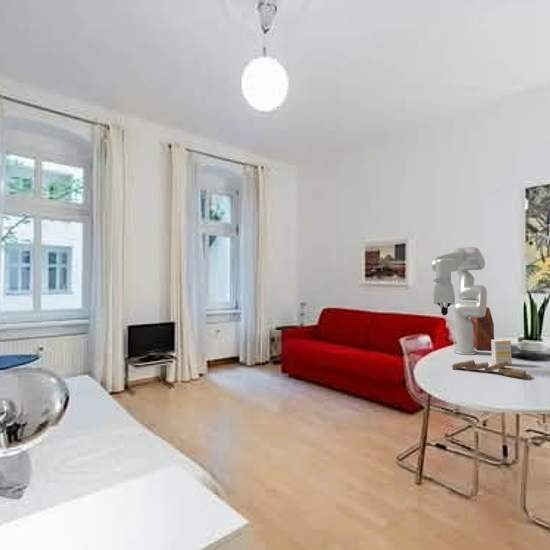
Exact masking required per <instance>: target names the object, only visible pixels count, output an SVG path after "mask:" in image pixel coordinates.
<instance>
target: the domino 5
mask: <svg viewBox="0 0 550 550" xmlns="http://www.w3.org/2000/svg"><path fill="white" fill-rule="evenodd" d="M503 375H504V377H508V376H509V378H515V379H516V378H517V379H521V378H522V380H528V379H529V380H530V379H531V378H532V374H530V373H526V375H524V376H522V377H519V376H514V375H508V374H503Z"/></svg>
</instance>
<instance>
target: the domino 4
mask: <svg viewBox="0 0 550 550" xmlns="http://www.w3.org/2000/svg"><path fill="white" fill-rule="evenodd" d="M497 370H498V373H499V374H503V375H504V374H508V375H514V376H519V377H522V376H524V375H526V374H527V371H526V370H525V369H523V370H522V369H517V368H513V367H507V366H505V367H502V368H499V369H497Z"/></svg>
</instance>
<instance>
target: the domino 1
mask: <svg viewBox="0 0 550 550" xmlns="http://www.w3.org/2000/svg"><path fill="white" fill-rule="evenodd" d="M474 364H476V362H475V360H474V359H471V360H465V361H461V362H455V363H453V364H452V365H451V367H452V369H453V370H457V369H464V368H465V367H468V366H473V365H474Z"/></svg>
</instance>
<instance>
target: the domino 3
mask: <svg viewBox="0 0 550 550" xmlns="http://www.w3.org/2000/svg"><path fill="white" fill-rule="evenodd" d="M507 366H510V365H509V363H508V361H505V362H502V363H499V364H496V365H495V364H493V365H491V366H488V368H484V369H483V370H484V372H485V373H486V374H487V373H489V372H493V371H495V370H498V369H499V368H502V367H507Z"/></svg>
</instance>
